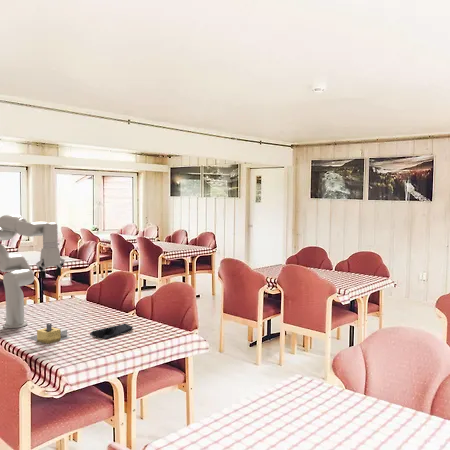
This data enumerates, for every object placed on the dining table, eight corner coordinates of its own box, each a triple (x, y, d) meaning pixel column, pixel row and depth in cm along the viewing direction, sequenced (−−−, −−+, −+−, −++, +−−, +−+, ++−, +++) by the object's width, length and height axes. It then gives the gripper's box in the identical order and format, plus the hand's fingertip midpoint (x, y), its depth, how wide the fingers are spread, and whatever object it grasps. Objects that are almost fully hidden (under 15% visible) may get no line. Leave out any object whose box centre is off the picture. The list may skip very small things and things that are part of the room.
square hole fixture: (26, 340, 248) (25, 328, 248) (51, 333, 261) (50, 322, 260) (48, 347, 238) (47, 334, 238) (72, 339, 251) (72, 327, 250)
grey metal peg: (45, 339, 245) (45, 324, 245) (49, 338, 247) (49, 323, 247) (48, 340, 244) (48, 324, 244) (52, 339, 246) (52, 323, 246)
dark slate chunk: (137, 331, 267) (137, 323, 267) (103, 341, 250) (103, 331, 250) (120, 326, 277) (119, 318, 276) (86, 335, 260) (86, 326, 260)
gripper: (59, 243, 271) (60, 274, 272) (32, 246, 257) (32, 278, 258) (68, 244, 267) (68, 275, 268) (40, 247, 253) (41, 279, 254)
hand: (51, 276), depth 263 cm, fingers open, 9 cm apart
